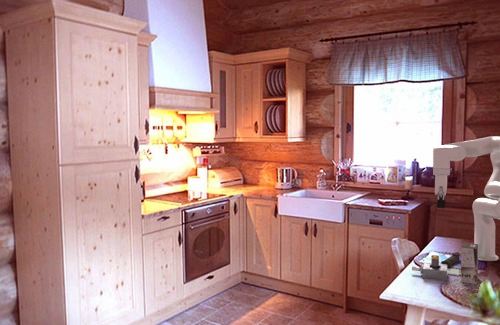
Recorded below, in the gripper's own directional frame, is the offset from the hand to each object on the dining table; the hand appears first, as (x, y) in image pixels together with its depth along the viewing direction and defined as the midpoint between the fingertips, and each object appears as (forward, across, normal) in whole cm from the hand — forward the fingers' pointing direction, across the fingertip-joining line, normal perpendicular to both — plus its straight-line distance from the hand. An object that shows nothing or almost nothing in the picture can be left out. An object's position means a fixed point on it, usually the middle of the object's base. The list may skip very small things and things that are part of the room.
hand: (441, 206), depth 209 cm
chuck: (+30, +18, -5) cm, 36 cm away
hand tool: (+31, -6, +4) cm, 32 cm away
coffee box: (+31, +17, +12) cm, 37 cm away
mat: (+30, +8, +4) cm, 32 cm away
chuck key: (+30, +18, -2) cm, 35 cm away
